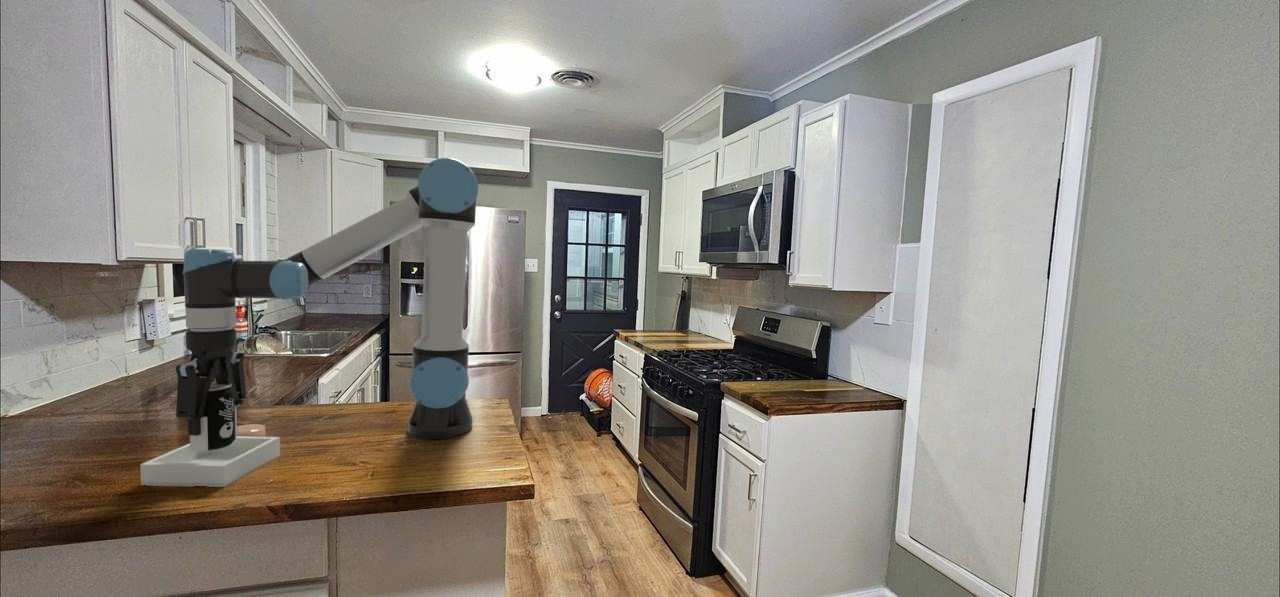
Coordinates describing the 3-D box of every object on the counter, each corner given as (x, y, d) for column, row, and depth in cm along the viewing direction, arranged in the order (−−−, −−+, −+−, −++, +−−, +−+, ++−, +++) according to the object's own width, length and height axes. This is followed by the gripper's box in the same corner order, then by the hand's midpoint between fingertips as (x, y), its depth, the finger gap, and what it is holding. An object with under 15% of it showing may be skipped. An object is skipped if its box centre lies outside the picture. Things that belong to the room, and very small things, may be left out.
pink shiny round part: (273, 437, 118) (273, 424, 118) (248, 450, 110) (248, 436, 110) (238, 436, 118) (238, 423, 118) (210, 449, 110) (210, 435, 110)
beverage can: (210, 453, 96) (208, 391, 95) (183, 449, 97) (181, 388, 96) (244, 441, 102) (242, 383, 101) (217, 438, 104) (216, 380, 103)
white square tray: (280, 455, 108) (279, 437, 108) (224, 487, 93) (224, 466, 93) (208, 453, 108) (207, 435, 107) (141, 485, 93) (140, 464, 92)
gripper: (230, 321, 108) (233, 426, 109) (143, 335, 88) (148, 462, 90) (266, 322, 108) (268, 427, 110) (187, 336, 88) (191, 463, 90)
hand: (214, 443), depth 100 cm, fingers closed on beverage can, 7 cm apart
